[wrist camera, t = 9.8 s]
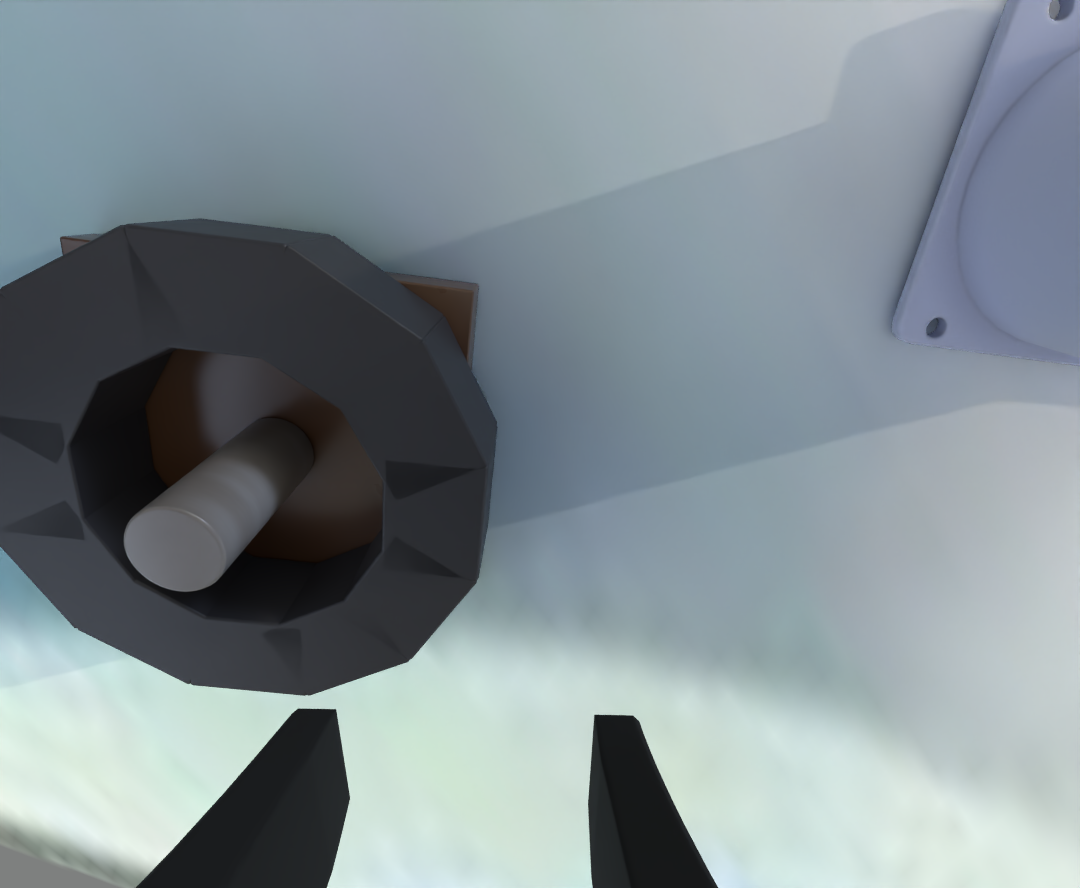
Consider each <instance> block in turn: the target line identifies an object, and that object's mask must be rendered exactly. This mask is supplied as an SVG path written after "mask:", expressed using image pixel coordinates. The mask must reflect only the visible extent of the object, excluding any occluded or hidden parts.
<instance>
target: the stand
mask: <svg viewBox="0 0 1080 888" xmlns="http://www.w3.org/2000/svg"><path fill="white" fill-rule="evenodd" d="M99 236H101V234H84V235H73V236H62V237H60V242H61V247H62V253H63V255H65V254H67V253H68V252H70V251H72V250H74V249H76V248H78V247H80V246H82V245H84V244H86V243H88V242H90V241H91V240H93V239H95V238H97V237H99ZM385 273H387V274H388V275H389V276H391V277H392V278H394V279H395V280H396V281H398V282H399V283H401V284H402V285H403V286H405V287H406V288H408V289H409V290H410V291H412V292H413V293H415V294H416V295H417V296H419V297H420V298H421V299H423V300H424V301H426V302H427V303H428V304H430V305H431V306H433V307H434V308H435V309H437V310H438V311H440V312H441V313H442V314H443V316H445V317H446V319H447V321H448V323H449V326H450V328H451V330H452V332H453V334H454V336H455V338H456V340H457V342H458V344H459V346H460V348H461V350H462V352H463V354H464V356H465V358H466V360H467V362H468V364H469V366H470V368H471V370H472V360H473V349H474V337H475V325H476V313H477V302H478V290H479V286H478V284H474V283H466V282H459V281H451V280H443V279H436V278H428V277H421V276H413V275H405V274H398V273H390V272H385ZM145 411H146V418H147V425H148V431H149V438H150V445H151V451H152V458H153V465H154V470H155V471H156V472H157V473H158V475H159V476H160V477H161V479H162V480H163V481H164V483H165V484H166V485H167V487H168V489H167V490H166V491H164V492H163V493H162V494H161V495H159V496H158V497H157V498H156V499H154V500H153V501H152V502H150V503H149V504H148V505H147V506H145V507H144V508H143V509H142V510H140V511H139V512H138V513H136V514H135V515H134V516H133V517H132V518H131V519H130V521H129V522H128V524H127V526H126V529H125V533H124V547H125V551H126V554H127V556H128V558H129V560H130V562H131V563H132V564H133V566H134V567H135V568H136V569H137V570H138V572H140V573H141V574H142V575H143V576H144V577H145V578H147V579H148V580H150V581H151V582H153V583H155V584H157V585H159V586H161V587H164V588H167V589H170V590H175V591H183V592H189V591H197V590H201V589H204V588H206V587H208V586H211V585H212V584H214V583H215V582H216V581H217V580H218V579H219V578H220V577H221V576H222V575H223V574H224V572H225V571H226V570H227V569H228V568H229V567H230V565H231V564H232V563H233V562H234V561H235V559H236V558H237V557H238V556H239V555H240V554H241V552H242V551H244V552H246V553H248V554H250V555H252V556H253V557H260V558H270V559H280V560H290V561H299V562H309V563H319V562H322V561H324V560H327V559H329V558H332V557H335V556H337V555H340V554H343V553H345V552H348V551H350V550H353V549H356V548H358V547H361V546H363V545H366V544H369V543H371V542H372V541H373V540H374V539H375V537H376V536H377V535H378V533H379V532H380V531H381V529H382V493H383V480H382V479H381V477H380V475H379V474H378V472H377V470H376V468H375V467H374V465H373V463H372V462H371V460H370V458H369V457H368V455H367V453H366V452H365V450H364V448H363V447H362V445H361V443H360V441H359V440H358V438H357V436H356V435H355V433H354V431H353V430H352V428H351V426H350V425H349V423H348V421H347V420H346V418H345V416H344V414H343V413H342V411H341V409H339V408H338V407H336V406H334V405H333V404H331V403H330V402H328V401H327V400H325V399H324V398H322V397H321V396H319V395H317V394H316V393H314V392H313V391H311V390H310V389H308V388H307V387H305V386H303V385H302V384H300V383H299V382H297V381H296V380H294V379H293V378H291V377H290V376H288V375H286V374H285V373H283V372H282V371H280V370H279V369H277V368H276V367H274V366H273V365H271V364H269V363H268V362H266V361H265V360H263V359H262V358H255V357H246V356H237V355H228V354H220V353H211V352H202V351H194V350H185V349H177V350H175V351H173V352H172V354H171V356H170V358H169V360H168V362H167V363H166V365H165V367H164V369H163V371H162V373H161V375H160V377H159V379H158V381H157V383H156V385H155V387H154V389H153V391H152V393H151V395H150V397H149V399H148V401H147V403H146V405H145Z"/></svg>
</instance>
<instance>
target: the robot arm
mask: <svg viewBox="0 0 1080 888" xmlns="http://www.w3.org/2000/svg"><path fill="white" fill-rule="evenodd" d="M1058 1H1059V4H1060V10H1059V14H1058V16H1057V17H1056V19H1055V20H1053V19H1051V18H1050V15H1049V6H1050V3H1051V2H1052V0H1007V2H1006V4H1005V7H1004V10H1003V13H1002V15H1001V18H1000V21H999V24H998V27H997V29H996V32H995V35H994V38H993V41H992V43H991V46H990V49H989V52H988V55H987V57H986V60H985V63H984V66H983V69H982V71H981V74H980V77H979V80H978V82H977V85H976V88H975V91H974V94H973V96H972V99H971V102H970V105H969V108H968V110H967V113H966V116H965V119H964V122H963V124H962V127H961V130H960V133H959V136H958V138H957V141H956V144H955V147H954V150H953V152H952V155H951V158H950V161H949V163H948V166H947V169H946V172H945V175H944V177H943V180H942V183H941V186H940V189H939V191H938V194H937V197H936V200H935V203H934V205H933V208H932V211H931V214H930V217H929V219H928V222H927V225H926V228H925V231H924V233H923V236H922V239H921V242H920V244H919V247H918V250H917V253H916V256H915V258H914V261H913V264H912V267H911V270H910V272H909V275H908V278H907V281H906V284H905V286H904V289H903V292H902V295H901V298H900V300H899V303H898V306H897V309H896V311H895V314H894V317H893V320H892V326H891V329H892V332H893V335H894V336H895V337H896V338H897V339H899V340H902V341H904V342H907V343H910V344H916V345H924V346H932V347H939V348H947V349H954V350H962V351H970V352H977V353H985V354H993V355H1000V356H1008V357H1015V358H1023V359H1031V360H1038V361H1046V362H1054V363H1061V364H1069V365H1076V366H1080V0H1058ZM935 318H937V320H938V325H937V327H936V329H935V330H934V331H933V332H931V333H930V334H927V333H926V328H927V325H928V324H929V322H930V321H932V320H933V319H935ZM349 800H350V795H349V789H348V783H347V776H346V770H345V763H344V757H343V751H342V744H341V738H340V731H339V725H338V719H337V712H336V709H297V710H296V711H295V712H294V713H292V714H291V716H290V717H289V718H288V719H287V720H286V721H285V723H284V724H283V725H282V726H281V727H280V729H279V730H278V731H277V732H276V733H275V734H274V736H273V737H272V738H271V739H270V740H269V742H268V743H267V744H266V745H265V746H264V747H263V749H262V750H261V751H260V752H259V753H258V755H257V756H256V757H255V758H254V759H253V760H252V762H251V763H250V764H249V765H248V766H247V767H246V768H245V770H244V771H243V772H242V773H241V774H240V775H239V776H238V778H237V779H236V780H235V781H234V782H233V783H232V785H231V786H230V787H229V788H228V789H227V790H226V791H225V793H224V794H223V795H222V796H221V797H220V798H219V799H218V800H217V801H216V803H215V804H214V805H213V806H212V807H211V808H210V809H209V810H208V811H207V812H206V814H205V815H204V816H203V817H202V818H201V819H200V820H199V821H198V822H197V823H196V825H195V826H194V827H193V828H192V829H191V830H190V831H189V832H188V833H187V834H186V836H185V837H184V838H183V839H182V840H181V841H180V842H179V843H178V844H177V845H176V846H175V848H174V849H173V850H172V851H171V852H170V853H169V854H168V855H167V856H166V857H165V858H164V859H163V860H162V861H161V862H160V863H159V864H158V865H157V866H156V867H155V868H154V869H153V870H152V872H151V873H150V874H149V875H148V876H147V877H146V878H145V879H144V880H143V881H142V882H141V883H140V884H139V885H138V886H137V887H136V888H327V885H328V882H329V879H330V876H331V873H332V870H333V866H334V862H335V858H336V854H337V850H338V846H339V842H340V838H341V834H342V830H343V826H344V822H345V817H346V813H347V809H348V805H349ZM588 810H589V833H590V855H591V876H592V885H593V888H718V887H717V885H716V883H715V881H714V880H713V878H712V876H711V874H710V872H709V871H708V869H707V867H706V865H705V863H704V861H703V859H702V857H701V855H700V854H699V852H698V850H697V848H696V846H695V844H694V842H693V840H692V838H691V836H690V834H689V833H688V831H687V829H686V827H685V825H684V823H683V821H682V819H681V817H680V815H679V813H678V811H677V809H676V807H675V805H674V803H673V801H672V799H671V796H670V794H669V792H668V790H667V788H666V786H665V784H664V781H663V779H662V777H661V775H660V773H659V770H658V768H657V766H656V764H655V761H654V759H653V756H652V754H651V752H650V749H649V747H648V744H647V742H646V739H645V736H644V734H643V731H642V728H641V725H640V722H639V721H638V720H637V719H636V718H635V717H634V716H626V715H594V729H593V743H592V757H591V771H590V785H589V799H588Z"/></svg>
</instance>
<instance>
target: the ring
mask: <svg viewBox="0 0 1080 888" xmlns="http://www.w3.org/2000/svg"><path fill="white" fill-rule="evenodd" d="M177 349H185V350H194V351H202V352H211V353H220V354H228V355H237V356H246V357H255V358H262V359H263V360H265V361H266V362H268V363H269V364H271V365H273V366H274V367H276V368H277V369H279V370H280V371H282V372H283V373H285V374H286V375H288V376H290V377H291V378H293V379H294V380H296V381H297V382H299V383H300V384H302V385H303V386H305V387H307V388H308V389H310V390H311V391H313V392H314V393H316V394H317V395H319V396H321V397H322V398H324V399H325V400H327V401H328V402H330V403H331V404H333V405H334V406H336V407H338V408H339V409H341V411H342V413H343V414H344V416H345V418H346V420H347V421H348V423H349V425H350V426H351V428H352V430H353V431H354V433H355V435H356V436H357V438H358V440H359V441H360V443H361V445H362V447H363V448H364V450H365V452H366V453H367V455H368V457H369V458H370V460H371V462H372V463H373V465H374V467H375V468H376V470H377V472H378V474H379V475H380V477H381V479H382V480H383V493H382V529H381V531H380V532H379V533H378V535H377V536H376V537H375V539H374V540H373V541H372V542H371V543H369V544H366V545H363V546H361V547H358V548H356V549H353V550H350V551H348V552H345V553H343V554H340V555H337V556H335V557H332V558H329V559H327V560H324V561H322V562H319V563H309V562H299V561H290V560H280V559H270V558H260V557H253V556H252V555H250V554H248V553H246V552H244V551H242V552H241V554H240V555H239V556H238V557H237V558H236V559H235V561H234V562H233V563H232V564H231V565H230V567H229V568H228V569H227V570H226V571H225V572H224V574H223V575H222V576H221V577H220V578H219V579H218V580H217V581H216V582H215V583H214V584H212V585H211V586H208V587H206V588H204V589H201V590H197V591H189V592H183V591H175V590H170V589H167V588H164V587H161V586H159V585H157V584H155V583H153V582H151V581H150V580H148V579H147V578H145V577H144V576H143V575H142V574H141V573H140V572H138V570H137V569H136V568H135V567H134V566H133V564H132V563H131V562H130V560H129V558H128V556H127V554H126V551H125V547H124V533H125V529H126V526H127V524H128V522H129V521H130V519H131V518H132V517H133V516H134V515H135V514H136V513H138V512H139V511H140V510H142V509H143V508H144V507H145V506H147V505H148V504H149V503H150V502H152V501H153V500H154V499H156V498H157V497H158V496H159V495H161V494H162V493H163V492H164V491H166V490H167V489H168V487H167V485H166V484H165V483H164V481H163V480H162V479H161V477H160V476H159V475H158V473H157V472H156V471H155V470H154V465H153V458H152V451H151V445H150V438H149V431H148V425H147V418H146V411H145V405H146V403H147V401H148V399H149V397H150V395H151V393H152V391H153V389H154V387H155V385H156V383H157V381H158V379H159V377H160V375H161V373H162V371H163V369H164V367H165V365H166V363H167V362H168V360H169V358H170V356H171V354H172V352H173V351H175V350H177ZM496 436H497V422H496V420H495V417H494V415H493V413H492V411H491V409H490V407H489V405H488V403H487V401H486V399H485V397H484V395H483V393H482V391H481V389H480V387H479V385H478V383H477V381H476V379H475V377H474V375H473V373H472V370H471V368H470V366H469V364H468V362H467V360H466V358H465V356H464V354H463V352H462V350H461V348H460V346H459V344H458V342H457V340H456V338H455V336H454V334H453V332H452V330H451V328H450V326H449V323H448V321H447V319H446V317H445V316H443V314H442V313H441V312H440V311H438V310H437V309H435V308H434V307H433V306H431V305H430V304H428V303H427V302H426V301H424V300H423V299H421V298H420V297H419V296H417V295H416V294H415V293H413V292H412V291H410V290H409V289H408V288H406V287H405V286H403V285H402V284H401V283H399V282H398V281H396V280H395V279H394V278H392V277H391V276H389V275H388V274H387V273H385V272H384V271H383V270H381V269H380V268H378V267H377V266H376V265H374V264H373V263H371V262H370V261H369V260H367V259H366V258H364V257H363V256H362V255H360V254H359V253H357V252H356V251H355V250H353V249H352V248H351V247H349V246H348V245H346V244H345V243H344V242H342V241H341V240H339V239H338V238H337V237H335V236H331V235H329V234H322V233H313V232H305V231H297V230H289V229H281V228H273V227H265V226H257V225H249V224H241V223H232V222H224V221H216V220H208V219H188V220H175V221H161V222H147V223H134V224H126V225H120V226H118V227H116V228H114V229H112V230H111V231H109V232H107V233H105V234H103V235H101V236H99V237H97V238H95V239H93V240H91V241H90V242H88V243H86V244H84V245H82V246H80V247H78V248H76V249H74V250H72V251H70V252H68V253H67V254H65V255H63V256H61V257H59V258H57V259H55V260H53V261H51V262H49V263H47V264H46V265H44V266H42V267H40V268H38V269H36V270H34V271H32V272H30V273H28V274H26V275H24V276H23V277H21V278H19V279H17V280H15V281H13V282H11V283H9V284H7V285H5V286H3V287H2V288H1V289H0V547H1V548H2V549H3V550H4V551H5V552H6V553H7V554H8V555H9V556H10V558H11V559H12V560H13V561H14V562H15V563H16V564H17V565H18V566H19V567H20V569H21V570H22V571H23V572H24V573H25V574H26V575H27V576H28V577H29V578H30V580H31V581H32V582H33V583H34V584H35V585H36V586H37V587H38V588H39V589H40V590H41V592H42V593H43V594H44V595H45V596H46V597H47V598H48V599H49V600H50V601H51V603H52V604H53V605H54V606H55V607H56V608H57V609H58V610H59V611H60V612H61V614H62V615H63V616H64V617H65V618H66V619H67V620H68V621H69V622H70V623H71V624H72V626H73V627H74V628H78V630H80V631H82V632H84V633H86V634H88V635H90V636H92V637H94V638H96V639H98V640H100V641H102V642H104V643H106V644H108V645H110V646H112V647H114V648H116V649H118V650H120V651H122V652H124V653H126V654H128V655H130V656H132V657H134V658H137V659H139V660H141V661H143V662H145V663H147V664H149V665H151V666H153V667H155V668H157V669H159V670H161V671H163V672H165V673H167V674H169V675H171V676H173V677H175V678H177V679H179V680H181V681H183V682H185V683H187V684H190V683H191V684H192V685H198V686H208V687H219V688H230V689H240V690H251V691H261V692H272V693H283V694H293V695H304V696H305V695H312V694H315V693H318V692H321V691H324V690H327V689H330V688H333V687H336V686H339V685H342V684H345V683H347V682H350V681H353V680H356V679H359V678H362V677H365V676H368V675H371V674H374V673H377V672H380V671H383V670H385V669H388V668H391V667H394V666H397V665H400V664H403V663H406V662H408V661H409V660H410V659H412V658H413V657H414V655H415V654H416V653H417V652H418V651H419V650H420V648H421V647H422V646H423V645H424V644H425V643H426V641H427V640H428V639H429V638H430V637H431V635H432V634H433V633H434V632H435V631H436V630H437V628H438V627H439V626H440V625H441V624H442V623H443V621H444V620H445V619H446V618H447V617H448V615H449V614H450V613H451V612H452V611H453V610H454V608H455V607H456V606H457V605H458V604H459V603H460V601H461V600H462V599H463V598H464V597H465V596H466V594H467V593H468V592H469V591H470V590H471V588H472V587H473V586H474V585H475V584H476V582H477V579H478V578H479V573H480V567H481V561H482V555H483V550H484V544H485V538H486V532H487V527H488V519H489V509H490V498H491V488H492V477H493V467H494V457H495V446H496Z"/></svg>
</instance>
